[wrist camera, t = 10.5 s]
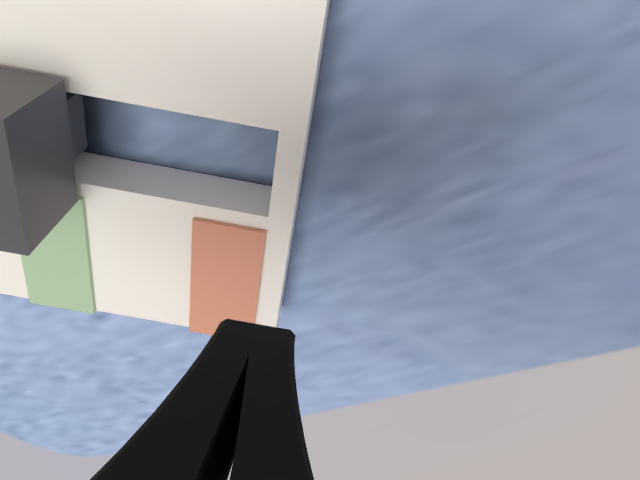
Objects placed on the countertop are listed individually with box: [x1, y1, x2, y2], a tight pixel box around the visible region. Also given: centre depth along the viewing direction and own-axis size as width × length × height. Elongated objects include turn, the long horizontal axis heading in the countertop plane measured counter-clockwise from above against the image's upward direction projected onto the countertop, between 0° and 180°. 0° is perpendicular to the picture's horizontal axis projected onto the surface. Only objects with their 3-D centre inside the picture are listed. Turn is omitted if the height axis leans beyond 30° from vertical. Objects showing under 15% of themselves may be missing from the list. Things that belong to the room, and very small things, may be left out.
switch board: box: [0, 0, 330, 335], centre depth 17 cm, size 12×14×2 cm
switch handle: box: [0, 67, 87, 256], centre depth 16 cm, size 2×4×5 cm, turn 171°
